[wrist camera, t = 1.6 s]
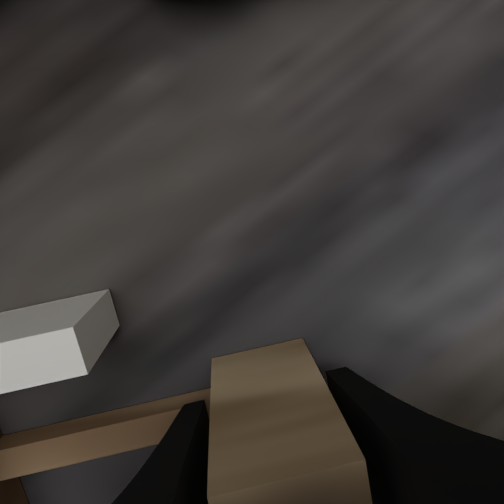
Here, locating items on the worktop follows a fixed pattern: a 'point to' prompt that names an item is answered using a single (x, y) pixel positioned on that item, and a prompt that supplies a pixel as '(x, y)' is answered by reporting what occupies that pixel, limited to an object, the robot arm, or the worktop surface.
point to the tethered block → (223, 435)
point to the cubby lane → (54, 339)
